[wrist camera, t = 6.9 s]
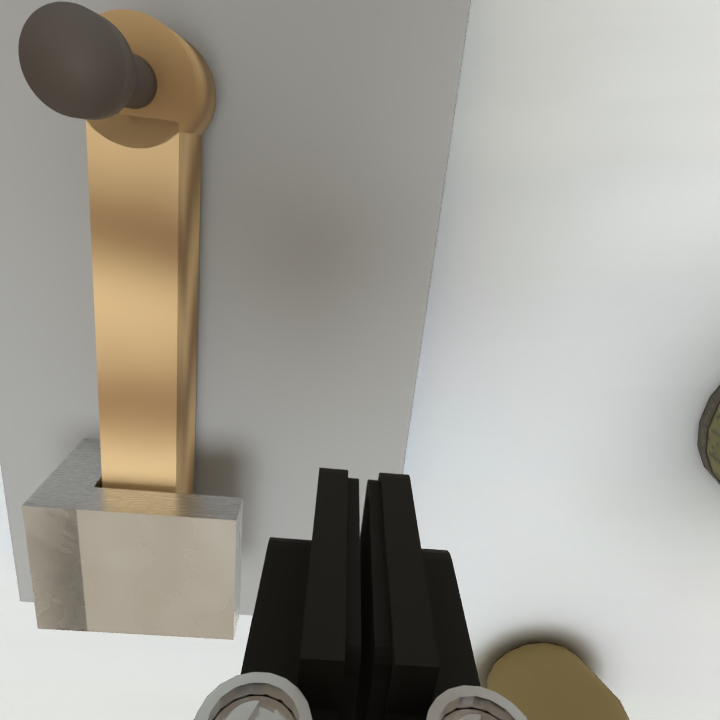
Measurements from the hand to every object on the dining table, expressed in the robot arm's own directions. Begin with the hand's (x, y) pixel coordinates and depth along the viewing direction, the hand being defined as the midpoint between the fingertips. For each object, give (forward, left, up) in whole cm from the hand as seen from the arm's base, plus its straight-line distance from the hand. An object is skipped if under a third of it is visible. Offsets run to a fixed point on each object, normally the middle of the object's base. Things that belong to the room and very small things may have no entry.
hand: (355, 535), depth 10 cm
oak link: (+1, -8, -14) cm, 16 cm away
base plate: (+2, -6, -16) cm, 17 cm away
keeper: (+10, -8, -15) cm, 19 cm away
